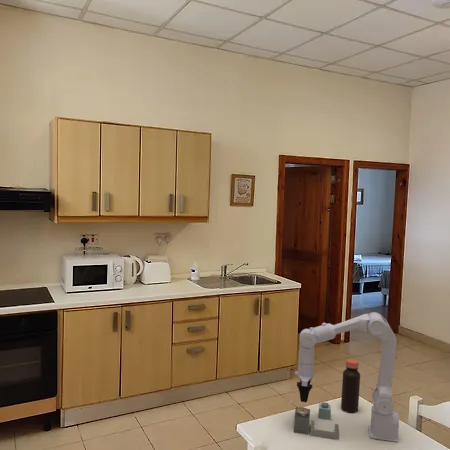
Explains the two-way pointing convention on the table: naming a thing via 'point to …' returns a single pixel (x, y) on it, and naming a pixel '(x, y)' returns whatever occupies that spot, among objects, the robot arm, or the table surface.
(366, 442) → the table surface
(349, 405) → the bottle
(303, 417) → the motor mount
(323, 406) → the pale blue block
